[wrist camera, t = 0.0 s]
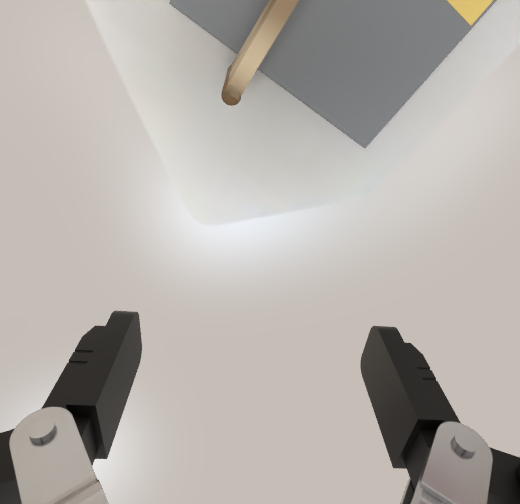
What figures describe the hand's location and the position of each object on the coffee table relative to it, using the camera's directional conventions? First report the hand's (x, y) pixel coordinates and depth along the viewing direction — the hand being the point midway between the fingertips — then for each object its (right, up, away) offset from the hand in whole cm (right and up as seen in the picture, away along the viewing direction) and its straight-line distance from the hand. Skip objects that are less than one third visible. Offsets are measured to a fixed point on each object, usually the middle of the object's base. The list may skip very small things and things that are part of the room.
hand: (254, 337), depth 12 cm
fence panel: (+1, +20, +12) cm, 23 cm away
